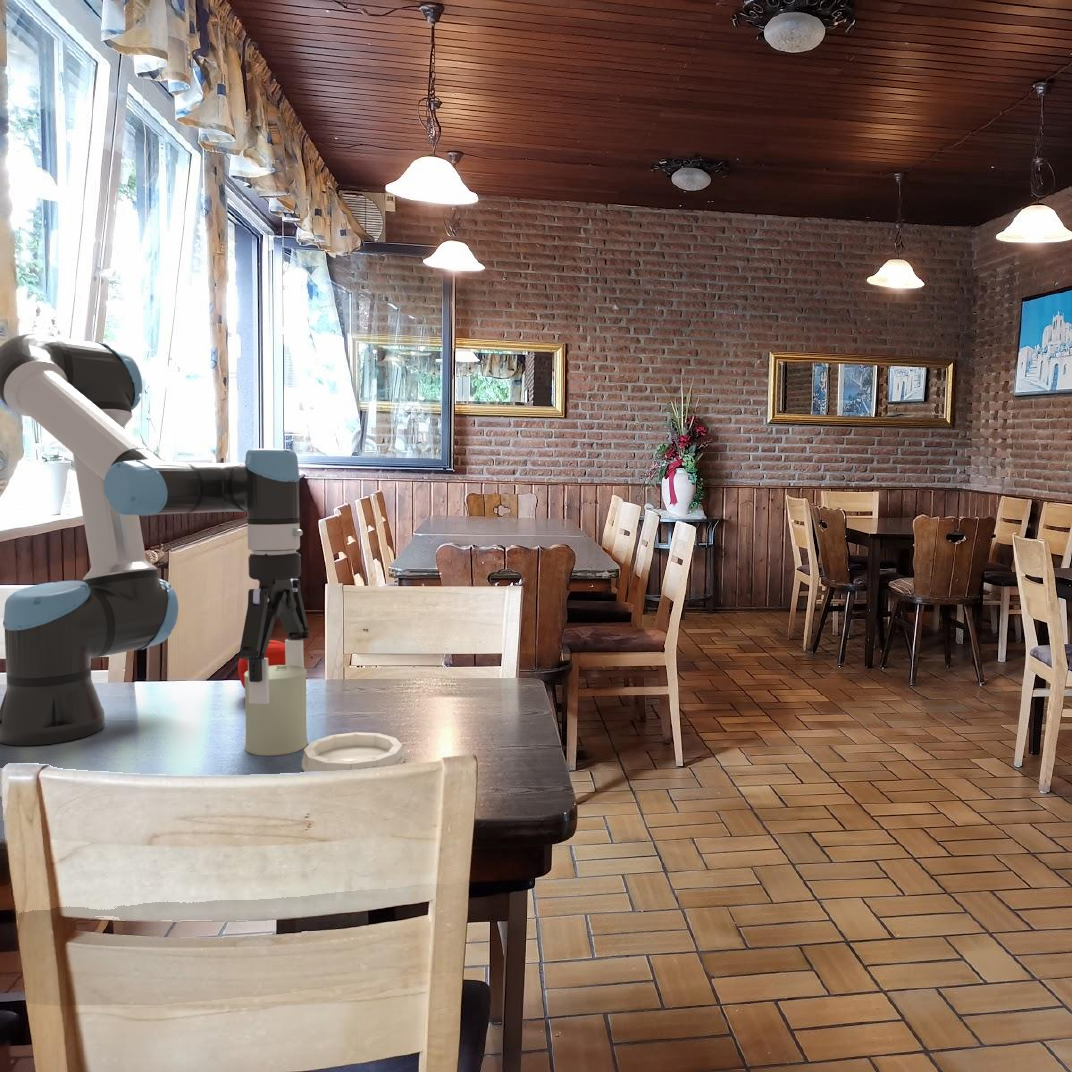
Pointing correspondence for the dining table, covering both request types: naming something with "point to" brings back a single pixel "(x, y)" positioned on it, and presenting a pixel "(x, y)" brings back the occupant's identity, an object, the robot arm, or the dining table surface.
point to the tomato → (273, 654)
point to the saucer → (352, 752)
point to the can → (278, 714)
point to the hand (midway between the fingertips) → (278, 691)
